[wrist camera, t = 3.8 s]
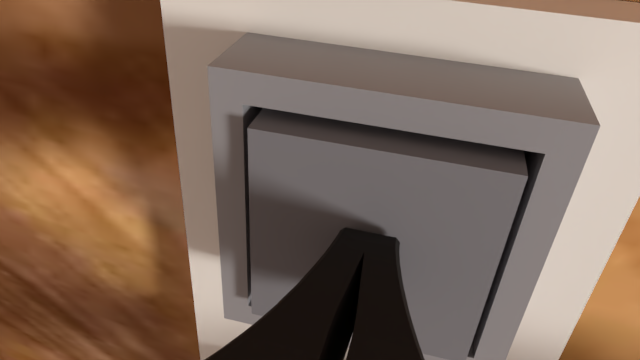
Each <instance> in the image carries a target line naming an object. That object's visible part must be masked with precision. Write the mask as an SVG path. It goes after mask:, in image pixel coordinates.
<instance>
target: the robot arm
mask: <svg viewBox="0 0 640 360" xmlns="http://www.w3.org/2000/svg"><path fill="white" fill-rule="evenodd" d="M399 248H400V242H399V241H398V239H397V238H396V237H391V236H386V235H381V234H376V233H371V232H366V231H361V230H356V229H351V228H346V227H345V228H343V229H342V230H340V231H339V233H338V235H337V236H336V238H335V239H334V241H333V242H332V243H331V245H330V246H329V248H328V249H327V250H326V251H325V253H324V254H323V255H322V256H321V258H320V259H319V260H318V261H317V262H316V264H315V265H314V266H313V267H312V268H311V269H310V270H309V271H308V273H307V274H306V275H305V276H304V277H303V278H302V279H301V280H300V281H299V282H298V283H297V285H296V286H295V287H294V288H292V289H291V290H290V291H289V292H288V293H287V294H286V295H285V296H284V297H283V298H282V299H281V300H280V301H279V302H278V303H277V304H276V305H275V306H274V307H273V308H272V309H271V310H269V311H268V312H267V313H266V314H265V315H264V316H263V317H261V318H260V319H259V320H258V321H257V322H255V323H254V324H253V325H252V326H250V327H249V328H248V329H247V330H245V331H244V332H243V333H242V334H240V335H239V336H237V337H236V338H235V339H233V340H232V341H231V342H229V343H228V344H227V345H225V346H224V347H222V348H221V349H220V350H218V351H217V352H215V353H214V354H212V355H211V356H209V357H208V358H206V359H205V360H344V357H345V354H346V351H347V348H348V345H349V342H350V339H351V336H352V339H351V343H350V346H349V350H348V354H347V358H346V360H425V359H424V356H423V354H422V351H421V348H420V345H419V342H418V339H417V336H416V333H415V329H414V326H413V323H412V319H411V316H410V312H409V308H408V304H407V299H406V295H405V291H404V286H403V281H402V274H401V267H400V255H399ZM352 333H353V335H352Z"/></svg>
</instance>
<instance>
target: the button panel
mask: <svg viewBox="0 0 640 360" xmlns="http://www.w3.org/2000/svg"><path fill="white" fill-rule="evenodd" d="M160 4H161V13H162V21H163V30H164V39H165V48H166V57H167V66H168V75H169V84H170V93H171V102H172V111H173V120H174V129H175V138H176V147H177V155H178V164H179V173H180V182H181V191H182V200H183V209H184V218H185V227H186V236H187V245H188V254H189V263H190V272H191V281H192V289H193V298H194V307H195V316H196V325H197V334H198V343H199V352H200V360H205V359H206V358H208V357H209V356H211V355H212V354H214V353H215V352H217V351H218V350H220V349H221V348H222V347H224V346H225V345H227V344H228V343H229V342H231V341H232V340H233V339H235V338H236V337H237V336H239V335H240V334H242V333H243V332H244V331H245V330H247V329H248V328H249V327H250V326H252V325H253V324H254V323H255V322H257V321H258V320H259V319H260V318H261V317H263V316H260V315H255V314H252V305H251V261H250V218H249V175H248V132H247V128H248V127H249V125H250V124H251V123H252V122H253V120H254V119H255V118H256V116H257V115H258V114H259V113H260V111H261V110H262V109H263V108H268V109H274V110H280V111H286V112H292V113H298V114H304V115H311V116H317V117H323V118H329V119H335V120H341V121H347V122H353V123H359V124H365V125H372V126H378V127H384V128H390V129H396V130H402V131H408V132H414V133H420V134H427V135H433V136H439V137H445V138H451V139H457V140H463V141H469V142H475V143H482V144H488V145H494V146H500V147H506V148H512V149H518V150H524V154H525V160H526V166H527V172H528V179H527V182H526V185H525V187H524V190H523V193H522V196H521V199H520V202H519V205H518V208H517V211H516V214H515V217H514V220H513V223H512V226H511V229H510V232H509V235H508V238H507V241H506V244H505V247H504V250H503V252H502V255H501V258H500V261H499V264H498V267H497V270H496V273H495V276H494V279H493V282H492V285H491V288H490V291H489V294H488V297H487V300H486V303H485V306H484V309H483V312H482V314H481V317H480V320H479V323H478V326H477V329H476V332H475V335H474V338H473V341H472V344H471V347H470V350H469V353H468V356H467V359H466V360H559V358H560V356H561V354H562V352H563V350H564V348H565V346H566V344H567V342H568V340H569V338H570V336H571V334H572V332H573V329H574V327H575V325H576V323H577V321H578V319H579V317H580V315H581V313H582V311H583V309H584V307H585V305H586V303H587V301H588V299H589V297H590V295H591V293H592V291H593V289H594V287H595V285H596V283H597V281H598V279H599V277H600V275H601V273H602V271H603V269H604V267H605V265H606V263H607V261H608V259H609V257H610V255H611V253H612V251H613V249H614V247H615V245H616V243H617V241H618V239H619V237H620V235H621V233H622V231H623V229H624V227H625V224H626V222H627V220H628V218H629V216H630V214H631V212H632V210H633V208H634V206H635V204H636V202H637V200H638V198H639V196H640V3H638V2H629V1H621V0H160ZM351 339H352V337H351ZM351 339H350V342H349V345H348V348H347V351H346V354H345V357H344V360H346V358H347V354H348V350H349V346H350V343H351ZM423 356H424V359H425V360H447V359H443V358H439V357H435V356H430V355H426V354H423Z"/></svg>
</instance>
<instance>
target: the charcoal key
mask: <svg viewBox="0 0 640 360" xmlns="http://www.w3.org/2000/svg"><path fill="white" fill-rule="evenodd" d="M247 132H248V175H249V218H250V261H251V305H252V314H255V315H260V316H264V315H265V314H266V313H267V312H268V311H269V310H271V309H272V308H273V307H274V306H275V305H276V304H277V303H278V302H279V301H280V300H281V299H282V298H283V297H284V296H285V295H286V294H287V293H288V292H289V291H290V290H291V289H292V288H294V287H295V286H296V285H297V283H298V282H299V281H300V280H301V279H302V278H303V277H304V276H305V275H306V274H307V273H308V271H309V270H310V269H311V268H312V267H313V266H314V265H315V264H316V262H317V261H318V260H319V259H320V258H321V256H322V255H323V254H324V253H325V251H326V250H327V249H328V248H329V246H330V245H331V243H332V242H333V241H334V239H335V238H336V236H337V235H338V233H339V231H340V230H342V229H343V228H345V227H346V228H351V229H356V230H361V231H366V232H371V233H376V234H381V235H386V236H391V237H396V238H397V239H398V241H399V242H400V248H399V255H400V267H401V274H402V281H403V286H404V291H405V295H406V299H407V304H408V308H409V312H410V316H411V319H412V323H413V326H414V329H415V333H416V336H417V339H418V342H419V345H420V348H421V351H422V354H426V355H430V356H435V357H439V358H443V359H447V360H466V359H467V356H468V353H469V350H470V347H471V344H472V341H473V338H474V335H475V332H476V329H477V326H478V323H479V320H480V317H481V314H482V312H483V309H484V306H485V303H486V300H487V297H488V294H489V291H490V288H491V285H492V282H493V279H494V276H495V273H496V270H497V267H498V264H499V261H500V258H501V255H502V252H503V250H504V247H505V244H506V241H507V238H508V235H509V232H510V229H511V226H512V223H513V220H514V217H515V214H516V211H517V208H518V205H519V202H520V199H521V196H522V193H523V190H524V187H525V185H526V182H527V179H528V172H527V166H526V160H525V154H524V150H518V149H512V148H506V147H500V146H494V145H488V144H482V143H475V142H469V141H463V140H457V139H451V138H445V137H439V136H433V135H427V134H420V133H414V132H408V131H402V130H396V129H390V128H384V127H378V126H372V125H365V124H359V123H353V122H347V121H341V120H335V119H329V118H323V117H317V116H311V115H304V114H298V113H292V112H286V111H280V110H274V109H268V108H263V109H262V110H261V111H260V113H259V114H258V115H257V116H256V118H255V119H254V120H253V122H252V123H251V124H250V125H249V127H248V128H247ZM352 335H353V333H352ZM351 337H352V336H351Z"/></svg>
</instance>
